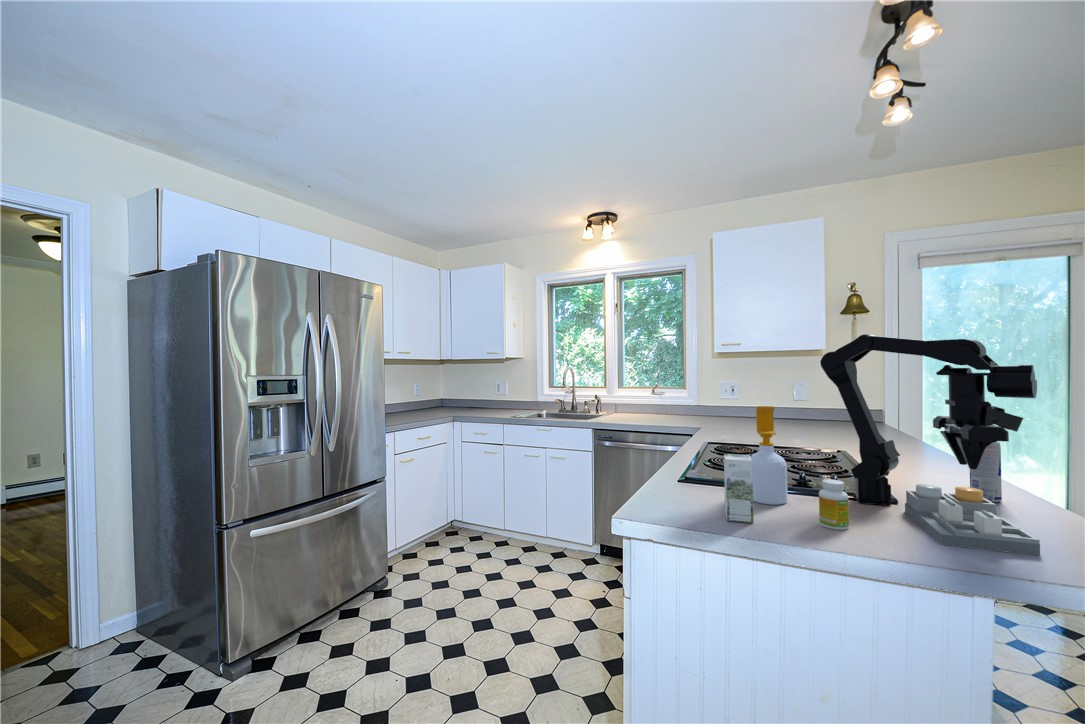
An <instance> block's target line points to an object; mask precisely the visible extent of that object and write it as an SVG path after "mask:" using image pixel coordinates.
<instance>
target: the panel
mask: <svg viewBox="0 0 1085 724" xmlns="http://www.w3.org/2000/svg"><path fill="white" fill-rule="evenodd" d="M905 493H906V494H905V495H906V496H905V498H906V501H905V502H904V512H905V513H906V514H908V516H909V517H910V518H912V519H913V520H914V521H915V522H916V523H917V524H918V525H920V526H921V528H922V529H924V530H925V531H926V532H927V533H929V535H930V536H932V538H934V539H935V540H936V541H937V542H938V543H939V544H941V545H942V546H951V547H957V548H958V547H960V548H969V549H978V550H986V551H987V550H988V551H993V552H994V551H996V552H1005V553H1014V554H1021V555H1023V554H1024V555H1032V556H1033V555H1034V556H1041V543H1040V542H1041V541H1040V539H1038V537H1036V536H1033V535H1032V534H1031V533H1028V532H1027V531H1025V530H1023V529H1022V528H1021V527H1019V526H1017V525H1016V524H1014V523H1012V522H1011V521H1009V520H1007V519H1006V518H1004V517H1003V518H1002V517H999V518H1000V519H1002V535H995V534H985V533H980V532H978V531H977V530H975V529H974V511H980V512H981V510H985V511H986V512H991V513H992V514H994V515H995V516H997V504H996V503H992V502H991V501H989V500H987V499H985V498H983V503H979V502H966V501H958V500H957V499H955V493H948V492H947V493H946V492H945V493H942V501H945V499H947V500H950V501H954V502H955V503H957V504H958V505H960V506H961V507H962V508H963V522H958V521H947V520H944V519H943V518H941V517H940V516H939V500H941V499H928V498H918V497H917V496H916V490H907V489H906V490H905Z"/></svg>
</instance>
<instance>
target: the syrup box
mask: <svg viewBox="0 0 1085 724" xmlns="http://www.w3.org/2000/svg"><path fill="white" fill-rule="evenodd" d="M723 470H724V471H723V472H724V476H723V477H724V478H723V479H724V480H723V481H724V513H725V518H726V521H727V522H736V523H743V524H744V523H746V524H754V501H753V462H752V460H751V455H749V454H732V453H731V454H727V453H726V454H725V453H724V454H723Z"/></svg>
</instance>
